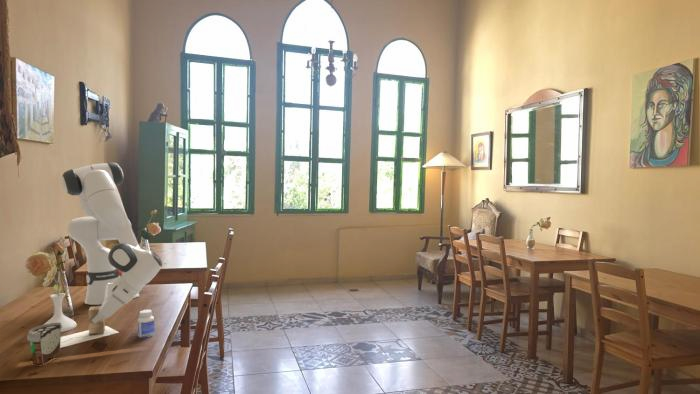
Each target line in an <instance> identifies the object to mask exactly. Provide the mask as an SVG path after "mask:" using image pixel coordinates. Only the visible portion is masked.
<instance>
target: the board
mask: <svg viewBox="0 0 700 394" xmlns="http://www.w3.org/2000/svg"><path fill="white" fill-rule="evenodd" d="M119 333H120V332H119V331H117V330H116V329H114V328H112V327H110V326H108V325H105V331H104V334H98V335H90V336H89V329H87V330H84V331H79V332H77V333H72V334H68V335H63V336H61V340H60V349H61V348H64V347H69V346H73V345H76V344H81V343H85V342H87V341H88V342H89V341H92V340H96V339H100V338H104V337H107V336H112V335H115V334H119Z"/></svg>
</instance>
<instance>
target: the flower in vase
mask: <svg viewBox="0 0 700 394" xmlns="http://www.w3.org/2000/svg"><path fill="white" fill-rule="evenodd" d="M57 271H58V267H57V266H56V265H55V266H52V267H51V268H50V270H48V271H47V274H46V277H44V278H43V280H44V281H43V283H42V284H41V286H43V288H47V287H48V286H49V285H50V284H51V283H52V282H53V281H54V282H55V284H54V285H53V287H52V289H53V291H55V292H56V293H53V294H50V295H49V297H50V298H51V300H52V302H53V305H54V306H53V307H54V314H53V316H52V317H51V318H50V319H48V320H47V321H46V322H45V323H44V324H43V325H45V324H50V323H59V322H61V325H62V328H61V333H64V332H69V331H71V330H73V329H75V328H76V327H77V326H78V324H77V323H76V321H74V319H72V318H70V317H69V316H66V314H64V312H63V309H62V307H63V306H62V305H63V300H64V297H65V296H66V293H64V292H62V293H61V290H62V289H61V287H60V286H59V283H58V281H57V279H56V278H55V276H56V275H57Z"/></svg>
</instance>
